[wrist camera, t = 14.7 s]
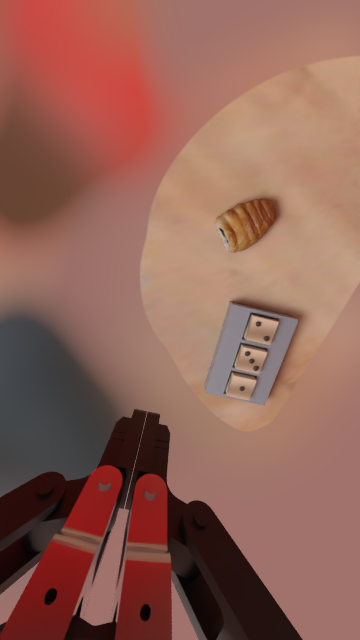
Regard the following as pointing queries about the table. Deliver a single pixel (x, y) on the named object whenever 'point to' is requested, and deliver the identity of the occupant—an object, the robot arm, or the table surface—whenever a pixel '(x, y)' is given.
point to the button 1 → (240, 385)
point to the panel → (234, 335)
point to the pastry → (245, 223)
